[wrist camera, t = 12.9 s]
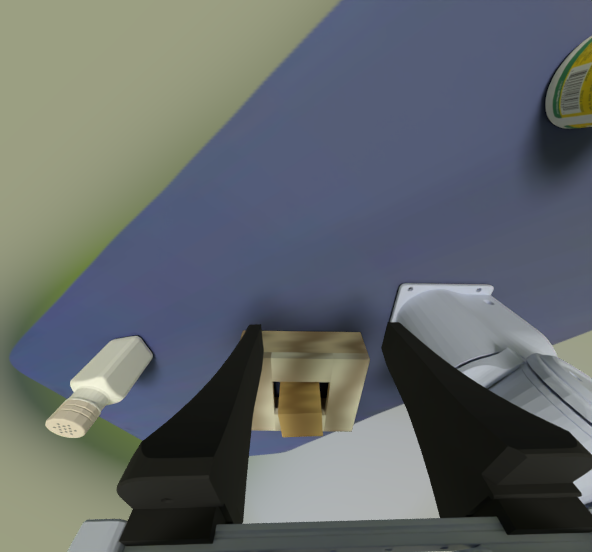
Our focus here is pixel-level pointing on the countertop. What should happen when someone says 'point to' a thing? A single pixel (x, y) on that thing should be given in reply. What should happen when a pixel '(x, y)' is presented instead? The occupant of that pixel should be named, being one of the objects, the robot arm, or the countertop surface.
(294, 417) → the ochre peg
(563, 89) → the supplement bottle
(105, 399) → the pepper shaker
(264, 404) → the posting box
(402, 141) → the countertop surface
